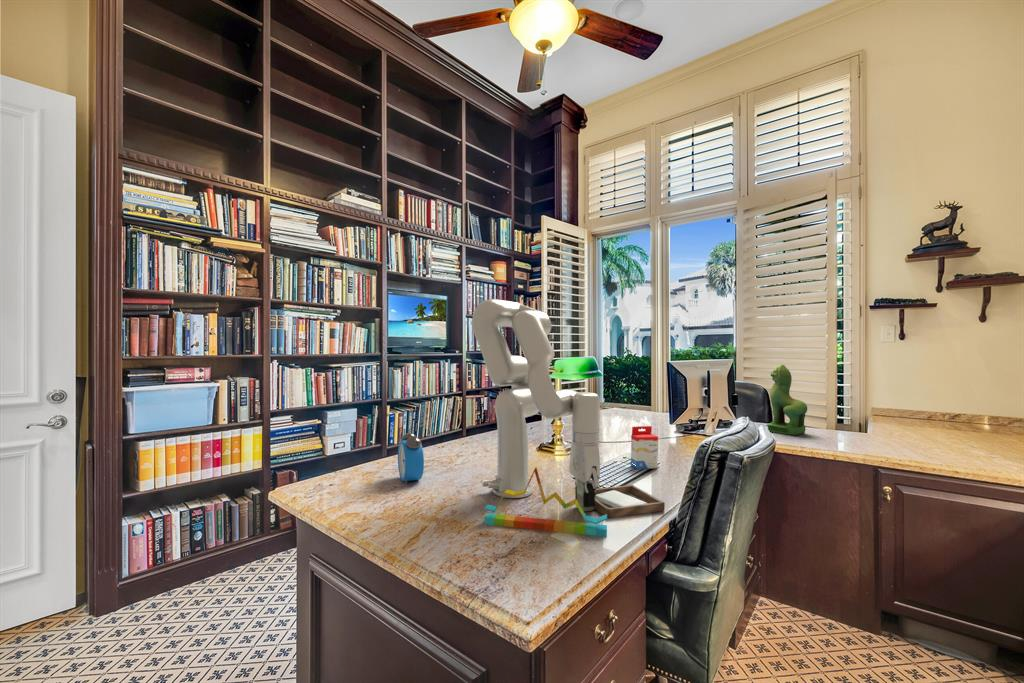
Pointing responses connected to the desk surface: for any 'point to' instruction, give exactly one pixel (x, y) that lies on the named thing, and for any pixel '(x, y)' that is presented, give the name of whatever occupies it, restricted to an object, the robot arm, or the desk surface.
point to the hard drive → (617, 499)
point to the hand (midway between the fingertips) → (584, 502)
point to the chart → (548, 523)
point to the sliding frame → (652, 506)
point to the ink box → (644, 448)
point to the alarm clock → (410, 458)
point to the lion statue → (785, 405)
